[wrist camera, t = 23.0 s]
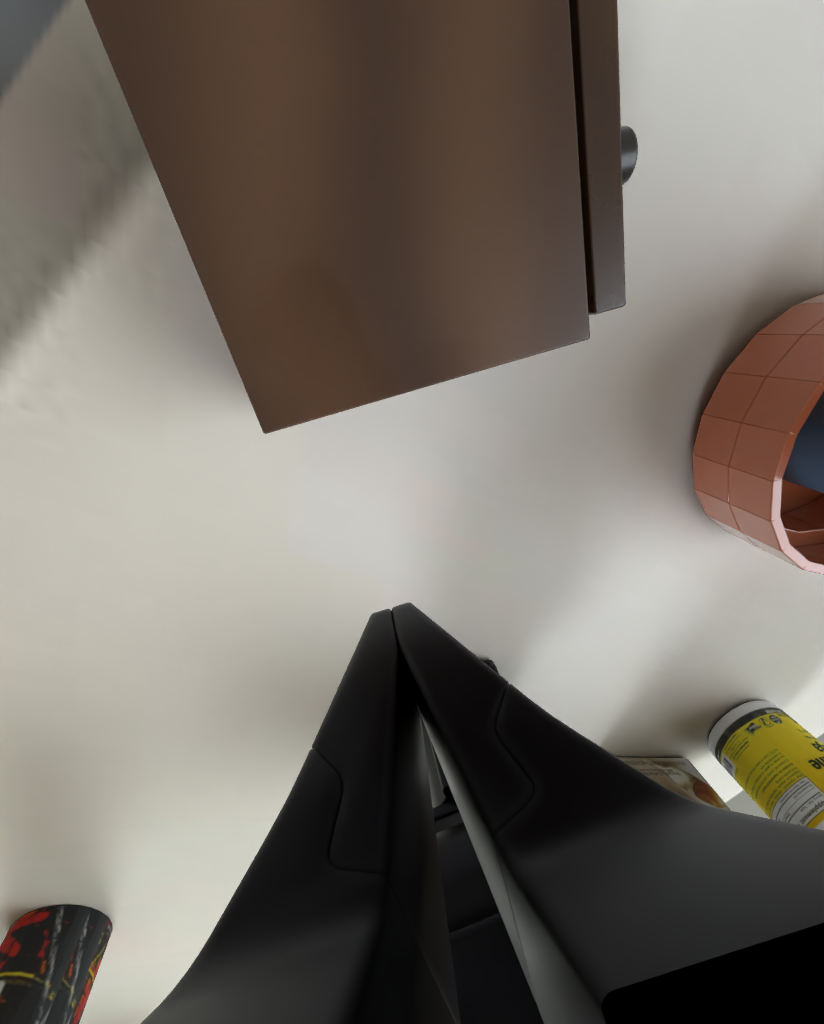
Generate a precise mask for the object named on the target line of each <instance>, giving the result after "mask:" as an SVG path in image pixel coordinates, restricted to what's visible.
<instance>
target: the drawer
mask: <svg viewBox="0 0 824 1024" xmlns="http://www.w3.org/2000/svg"><path fill="white" fill-rule="evenodd" d="M569 14H570V30H571V46H572V61H573V77H574V93H575V109H576V125H577V141H578V157H579V173H580V189H581V205H582V221H583V237H584V253H585V269H586V285H587V300H588V315H593V314H599V313H602V312H606V311H609V310H612V309H616V308H619V307H623V306H624V305H625V268H624V232H623V196H622V185H623V184H624V183H625V182H627V181H628V179H629V178H630V177H631V175H632V173H633V171H634V168H635V165H636V160H637V153H638V145H637V138H636V135H635V133H634V131H633V129H632V128H630V127H628V126H622V127H621V124H620V88H619V52H618V16H617V0H569Z"/></svg>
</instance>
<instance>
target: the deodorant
mask: <svg viewBox="0 0 824 1024" xmlns="http://www.w3.org/2000/svg"><path fill="white" fill-rule="evenodd" d="M111 932H112V923H111V921H110V920H109V918H108V917H107V916H106V915H104V914H103V913H102V912H99V911H97V910H94V909H92V908H88V907H83V906H73V905H62V906H51V907H46V908H42V909H38V910H35V911H33V912H30V913H27V914H25V915H24V916H22V917H21V918H19V919H18V920H16V922H15V923H14V924H13V925H12V926H11V927H10V929H9V931H8V933H7V935H6V937H5V939H4V941H3V943H2V944H1V946H0V1024H79V1022H80V1019H81V1016H82V1013H83V1011H84V1008H85V1005H86V1002H87V999H88V997H89V994H90V991H91V988H92V985H93V983H94V980H95V977H96V974H97V971H98V969H99V966H100V963H101V960H102V957H103V955H104V952H105V949H106V946H107V943H108V941H109V938H110V935H111Z"/></svg>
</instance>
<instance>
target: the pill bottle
mask: <svg viewBox="0 0 824 1024" xmlns="http://www.w3.org/2000/svg"><path fill="white" fill-rule="evenodd" d="M708 743H709V748H710V751H711V753H712V754H713V755H714V757H715V758H716V759H717V760H718V761H719V763H720V764H721V765H722V766H723V767H724V768H725V769H726V770H727V771H728V773H729V774H730V775H731V776H732V777H733V778H734V779H735V780H736V781H737V783H738V784H739V785H740V786H741V787H742V788H743V789H744V790H745V791H746V792H747V794H748V795H749V796H750V797H751V798H752V799H753V800H754V801H755V802H756V803H757V805H758V806H759V807H760V808H761V809H762V810H763V811H764V812H765V813H766V814H767V816H768V817H769V818H770V819H772V820H777V821H782V822H786V823H791V824H796V825H801V826H806V827H810V828H815V829H820V830H824V745H823V744H822V743H821V742H820V741H818V740H817V739H816V738H815V737H814V736H812V735H811V734H810V733H809V732H808V731H806V730H805V729H804V728H803V727H802V726H801V725H799V724H798V723H797V722H796V721H795V720H793V719H792V718H791V717H790V716H789V715H787V714H786V713H785V712H784V711H782V710H781V709H780V708H778V707H777V706H776V705H774V704H772V703H769V702H766V701H751V702H747V703H744V704H742V705H740V706H738V707H736V708H734V709H733V710H731V711H730V712H728V713H727V714H726V715H724V716H723V717H722V718H721V719H720V720H719V721H718V722H717V723H716V724H715V726H714V727H713V729H712V731H711V733H710V735H709V742H708Z"/></svg>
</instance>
